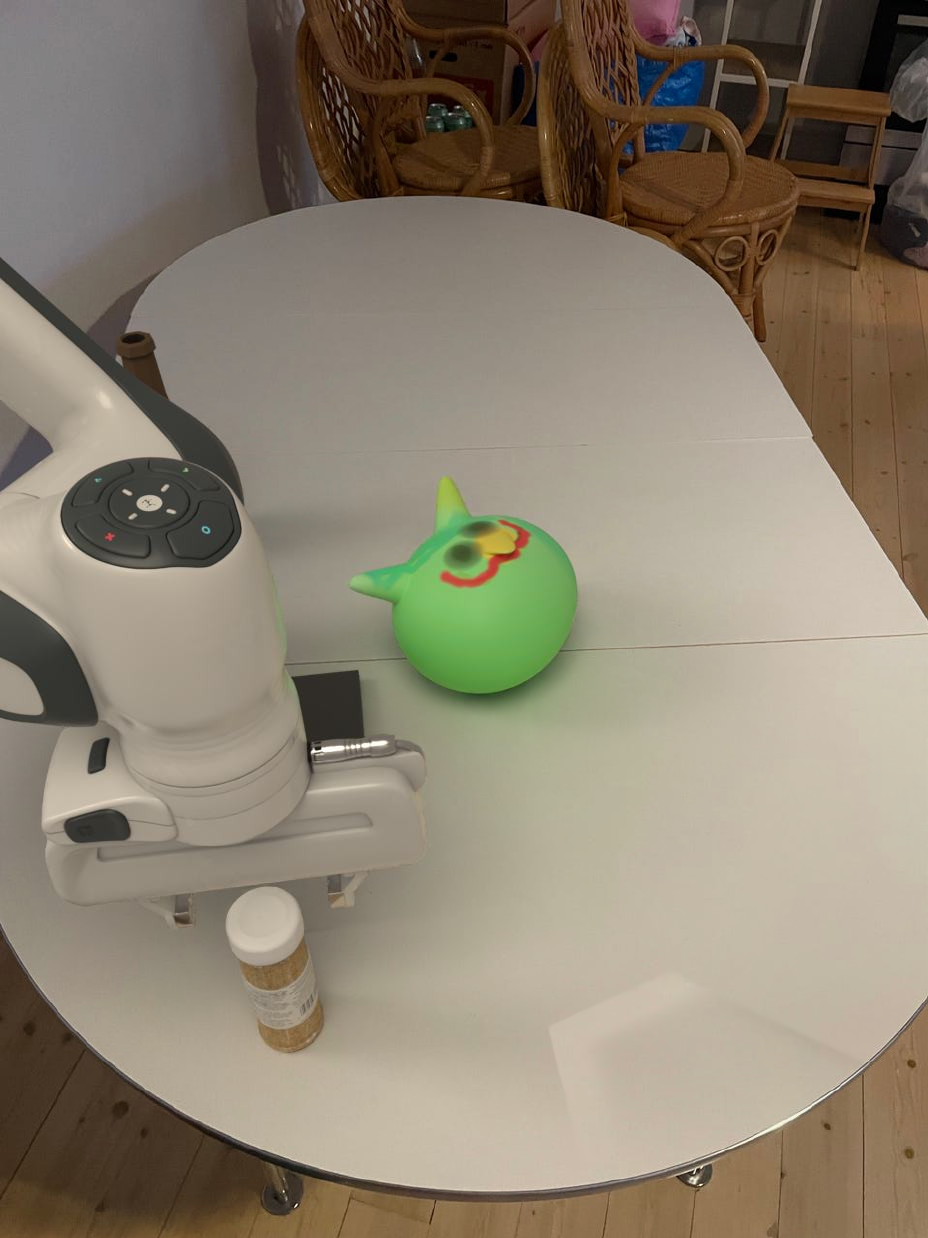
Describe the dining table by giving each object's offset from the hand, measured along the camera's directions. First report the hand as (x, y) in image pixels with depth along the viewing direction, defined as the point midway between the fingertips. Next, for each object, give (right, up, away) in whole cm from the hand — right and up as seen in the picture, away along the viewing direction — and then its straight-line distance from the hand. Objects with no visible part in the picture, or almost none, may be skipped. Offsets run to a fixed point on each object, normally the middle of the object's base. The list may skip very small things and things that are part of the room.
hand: (263, 907), depth 62 cm
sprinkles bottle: (0, -11, +10) cm, 14 cm away
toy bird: (+14, +14, +36) cm, 41 cm away
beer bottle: (-18, +25, +50) cm, 59 cm away
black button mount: (-3, +7, +29) cm, 31 cm away
